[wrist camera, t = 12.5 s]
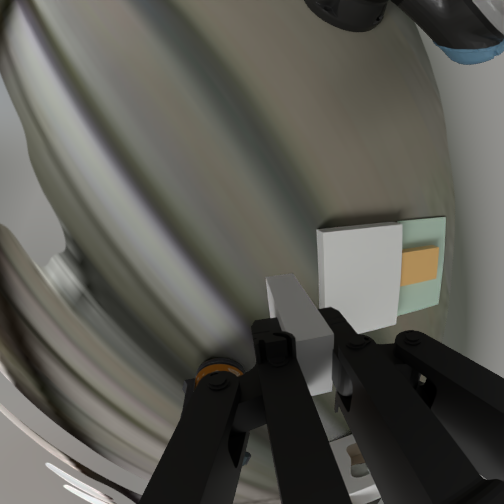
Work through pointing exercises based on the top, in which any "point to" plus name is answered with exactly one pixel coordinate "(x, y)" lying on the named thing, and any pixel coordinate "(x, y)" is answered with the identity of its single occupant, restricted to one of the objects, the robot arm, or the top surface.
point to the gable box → (347, 456)
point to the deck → (361, 273)
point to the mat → (429, 291)
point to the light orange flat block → (419, 264)
